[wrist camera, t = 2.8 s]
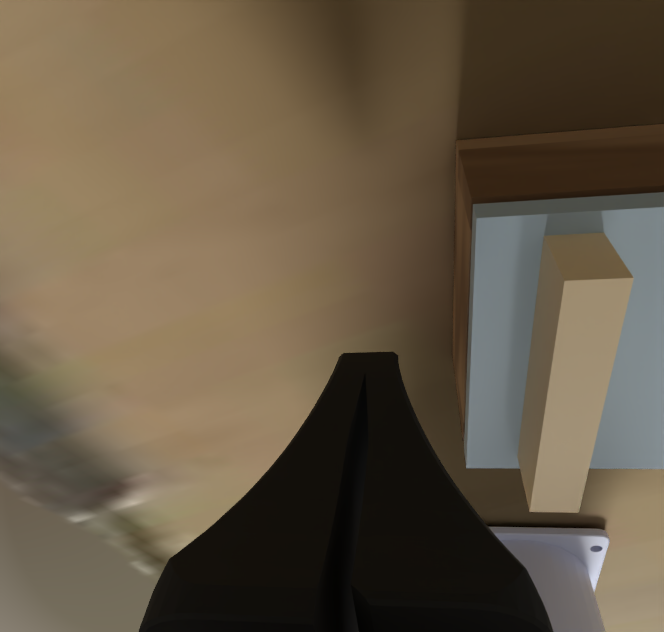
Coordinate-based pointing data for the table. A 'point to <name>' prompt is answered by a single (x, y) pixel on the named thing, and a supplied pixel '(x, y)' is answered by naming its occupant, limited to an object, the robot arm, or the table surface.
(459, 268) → the pencil box
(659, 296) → the lid
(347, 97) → the table surface
